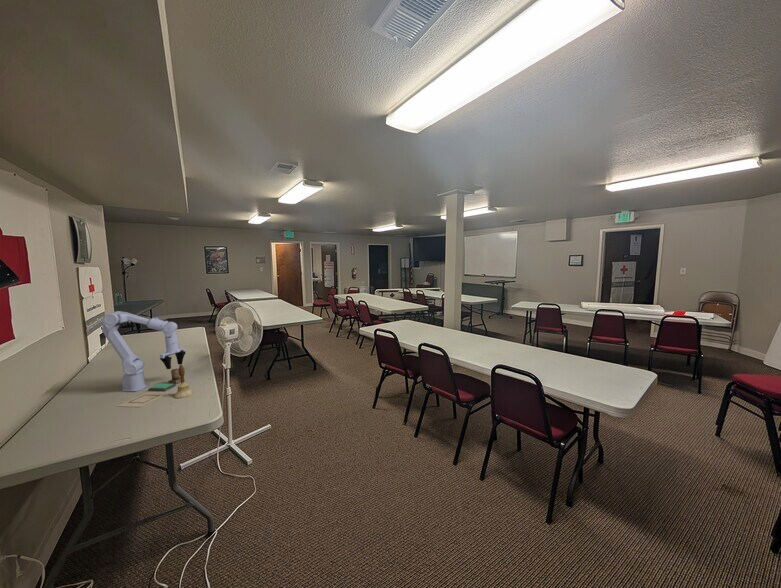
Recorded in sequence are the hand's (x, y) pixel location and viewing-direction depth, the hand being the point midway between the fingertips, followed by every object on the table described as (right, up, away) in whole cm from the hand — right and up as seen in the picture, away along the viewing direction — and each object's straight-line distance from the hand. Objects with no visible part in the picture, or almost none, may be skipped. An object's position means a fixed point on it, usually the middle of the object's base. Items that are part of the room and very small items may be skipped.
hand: (174, 366), depth 169 cm
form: (-1, -12, -20) cm, 23 cm away
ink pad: (-2, -10, -7) cm, 12 cm away
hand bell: (+17, -11, -17) cm, 26 cm away
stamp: (0, -10, +1) cm, 10 cm away
